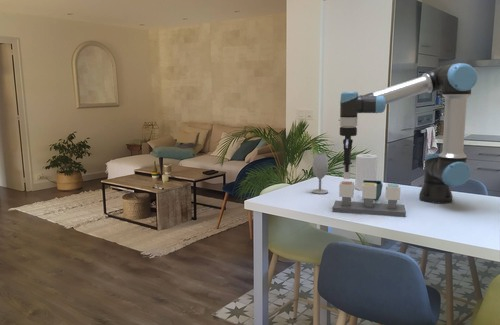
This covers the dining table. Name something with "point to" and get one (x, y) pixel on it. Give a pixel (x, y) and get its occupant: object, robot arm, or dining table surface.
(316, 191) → the wineglass
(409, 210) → the dining table surface
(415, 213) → the dining table surface
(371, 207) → the keypad
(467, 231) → the dining table surface
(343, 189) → the key terracotta
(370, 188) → the key mustard
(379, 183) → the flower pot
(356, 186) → the cup
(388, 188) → the key teal
